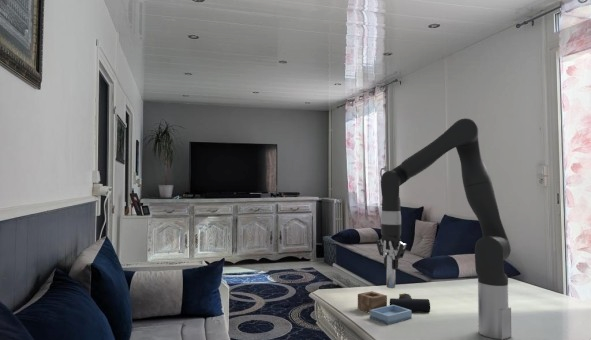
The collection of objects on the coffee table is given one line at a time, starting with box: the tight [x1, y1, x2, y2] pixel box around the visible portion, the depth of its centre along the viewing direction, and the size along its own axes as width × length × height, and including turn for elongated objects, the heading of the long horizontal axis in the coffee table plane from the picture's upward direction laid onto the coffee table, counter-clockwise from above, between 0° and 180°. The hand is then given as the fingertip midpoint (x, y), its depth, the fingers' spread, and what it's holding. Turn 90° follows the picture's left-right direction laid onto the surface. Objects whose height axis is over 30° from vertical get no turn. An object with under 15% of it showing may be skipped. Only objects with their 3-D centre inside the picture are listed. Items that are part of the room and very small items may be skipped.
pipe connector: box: [389, 292, 431, 313], centre depth 165 cm, size 12×5×15 cm
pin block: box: [357, 290, 388, 314], centre depth 163 cm, size 8×8×6 cm
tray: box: [369, 304, 413, 325], centre depth 152 cm, size 9×13×3 cm
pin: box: [386, 254, 396, 289], centre depth 153 cm, size 3×3×12 cm
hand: (390, 268), depth 153 cm, fingers closed on pin, 3 cm apart
